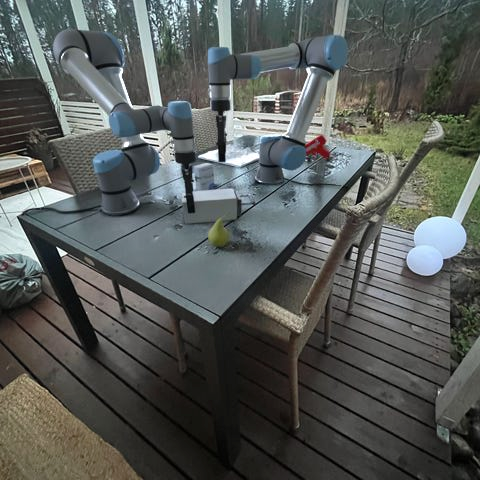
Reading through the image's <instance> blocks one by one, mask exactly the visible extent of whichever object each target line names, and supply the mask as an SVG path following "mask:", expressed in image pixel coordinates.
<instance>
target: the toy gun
mask: <svg viewBox="0 0 480 480" xmlns="http://www.w3.org/2000/svg"><path fill="white" fill-rule="evenodd" d="M326 143H327V139H326V137H325V136H324V135H323V133H321V134H319V135H318V136H316V137H314V138H313V139H311V140H310V141H308V142H306V145H305V149H306V154H307V155H306V157H307V156H308V155H310V154H311V155H312V156H316V155H318V154H319V155H320V156H321V157H323V160H324V161H325V160H326V159H327V157H328V159H329V158H330V156H331V151H330V150H328V149H327V148H326V147H324V146H325V145H326ZM324 158H326V159H324Z"/></svg>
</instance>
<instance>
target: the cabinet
mask: <svg viewBox="0 0 480 480" xmlns="http://www.w3.org/2000/svg"><path fill="white" fill-rule="evenodd" d="M184 196H186V192H185V191H182V192H181V205H182V212H183V213H182V214H183V221H184V224H185V225H188V224H200V223H211V222H217V220H219V219H220V218H222V217H224V216H225V215H226V214H227V213H228V212H229V214H228V215H227V216H225V217H224V218H223V221H235V220H238V213H237V198H236V196H235V190H234V188H232V187H231V188H219V189H218V188H217V189H208V190H202V191H199V190H193V196H194V205H195V213H189V214H188V209H187V202H186V198H184ZM223 221H222V222H223Z"/></svg>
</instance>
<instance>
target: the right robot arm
mask: <svg viewBox="0 0 480 480" xmlns="http://www.w3.org/2000/svg"><path fill="white" fill-rule="evenodd" d="M348 57H349V48H348V42H347V40H346V38H345V37H344V36H342V34H341V35H340V34H330V35H323V36H314V37H310V38H306V39H304V40H301V41H297V42H296V41H295V42H292V43H290V44H289V45H288V46H284V47H277V48H271V49H264V50H258V51H251V52H245V53H239V54H231V50H230V48H229V47H226V46H212V47H209V48H208V50H207V68H208V81H209V88H208V89H207V91H208V92H209V98H210V100H209V102H210V103H209V104H210V110H211V111H212V112H217V115H216V114H215V122H216V123H215V124H216V130H217V142H215V145H216V146H217V150H218V159H219V162H226V157H225V153H226V146H227V139H226V138H227V137H228V133H227V132H226V127H227V115H225V112H230V111H231V109H232V103H231V102H232V101H231V99H230V98H231V97H232V93H231V92H232V91H231V88H232V87H231V80H255V79H257V78H258V77H259V76H260V74H261V73H266V72H271V71H277V70H282V69H288V68H289V69H290V70H306V72H307V78H306V80H305V82H304V85H303V88H302V92H301V94H300V96H299V99H298V101H297V104H296V107H295V110H294V111H293V115H292V117H291V120H290V123H289V125H288V128H287V131H286V132H284V133H283V134H266V135H262V136H260V139H259V143H258V145H259V153H258V154H259V160H258V167H257V170H256V173H255V177H254V181H255V183H258V184H259V185H262V186H263V185H264V186H279V185H281V184H283V183H284V181H288V182H291V183H294V184H298V185H302V186H332V187H333V186H334V187H342V186H341V185H336V184H337V183H326V182H325V183H324V182H323V183H322V182H318V183H316V182H315V183H304V182H299V181H295V180H292V179H290V178H286V177H285V175H284V172H283V171H284V170H287V171H296V170H297V169H300V168H301V167H302V166H303V165H304V164H305V161H306V160H307V156H308V155H307V154H306V149H305V145H306V144H307V141H306V136H307V133H308V131H309V129H310V126H311V124H312V121H313V119H314V117H315V114H316V112H317V109H318V106H319V104H320V102H321V99H322V97H323V95H324V92H325V90H326V87H327V84H328V82H329V81H331V80H333V79H334V77H335V75H336V72H337V71H339V70H341V69H343V67H344V66H345V65H346V63H347V61H348ZM306 155H307V156H306ZM283 169H284V170H283ZM343 185H344V186H343V187H344V188H345V189H347V190H349V187H348V186H347V185H345V184H343Z"/></svg>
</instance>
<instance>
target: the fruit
mask: <svg viewBox="0 0 480 480" xmlns="http://www.w3.org/2000/svg"><path fill="white" fill-rule="evenodd" d="M228 214H229V212H228V213H227V214H226V215H225V216H227V215H228ZM225 216H224V217H225ZM224 217H222V218H220V219H219V220H217V221H215V223H214V224H213V226H212V227H211V229H209V231H208V234H207V238H208V241H209V243H210V244H211V245H212V246H213V247H215V248H222V247H225V245H227V243H228V241H229V239H230V233H229V231H228V230H227V229H226V228H225V227H224V224H223V223H224V222H223V218H224Z"/></svg>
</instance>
